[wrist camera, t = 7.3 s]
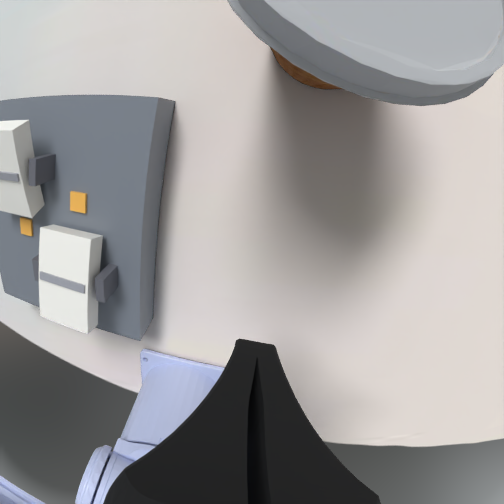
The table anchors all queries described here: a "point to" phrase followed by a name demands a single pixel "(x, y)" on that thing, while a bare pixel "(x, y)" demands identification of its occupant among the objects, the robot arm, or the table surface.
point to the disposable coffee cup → (383, 45)
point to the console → (94, 196)
